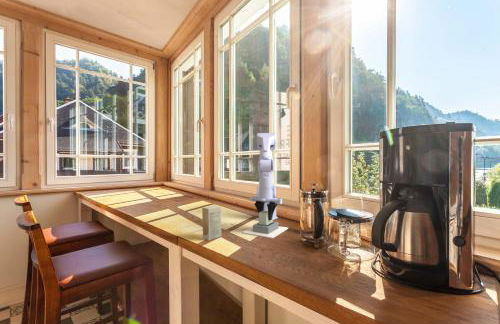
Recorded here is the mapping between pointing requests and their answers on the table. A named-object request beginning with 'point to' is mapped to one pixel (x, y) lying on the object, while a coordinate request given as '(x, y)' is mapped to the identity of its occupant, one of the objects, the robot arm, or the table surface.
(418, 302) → the table surface
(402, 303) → the table surface
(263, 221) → the key block
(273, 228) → the slot holder
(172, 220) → the table surface
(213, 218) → the skincare box
